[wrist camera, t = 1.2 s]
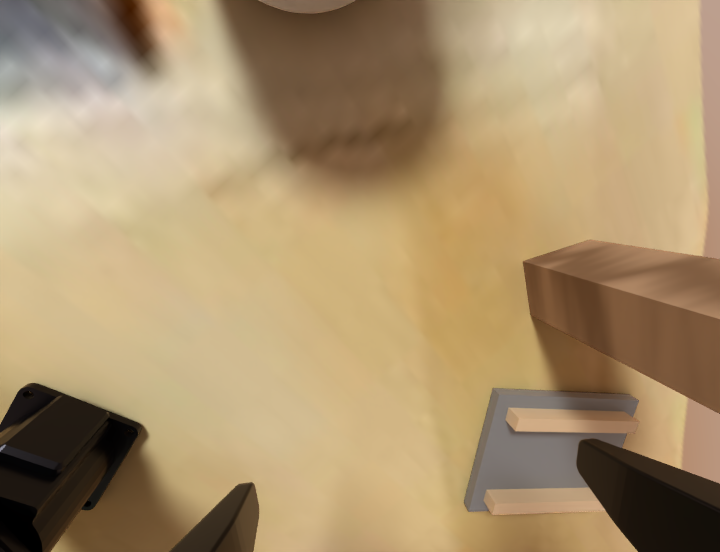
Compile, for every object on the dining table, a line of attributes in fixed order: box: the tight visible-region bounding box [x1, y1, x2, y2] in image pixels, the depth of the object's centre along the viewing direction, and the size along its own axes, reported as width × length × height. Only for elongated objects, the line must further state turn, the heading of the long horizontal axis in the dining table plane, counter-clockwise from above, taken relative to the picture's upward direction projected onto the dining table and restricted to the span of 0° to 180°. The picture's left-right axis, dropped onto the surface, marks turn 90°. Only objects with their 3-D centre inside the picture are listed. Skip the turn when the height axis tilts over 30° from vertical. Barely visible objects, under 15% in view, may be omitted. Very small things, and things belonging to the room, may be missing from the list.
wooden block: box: [523, 240, 720, 414], centre depth 17 cm, size 5×4×13 cm
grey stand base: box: [464, 388, 639, 515], centre depth 25 cm, size 12×10×2 cm
